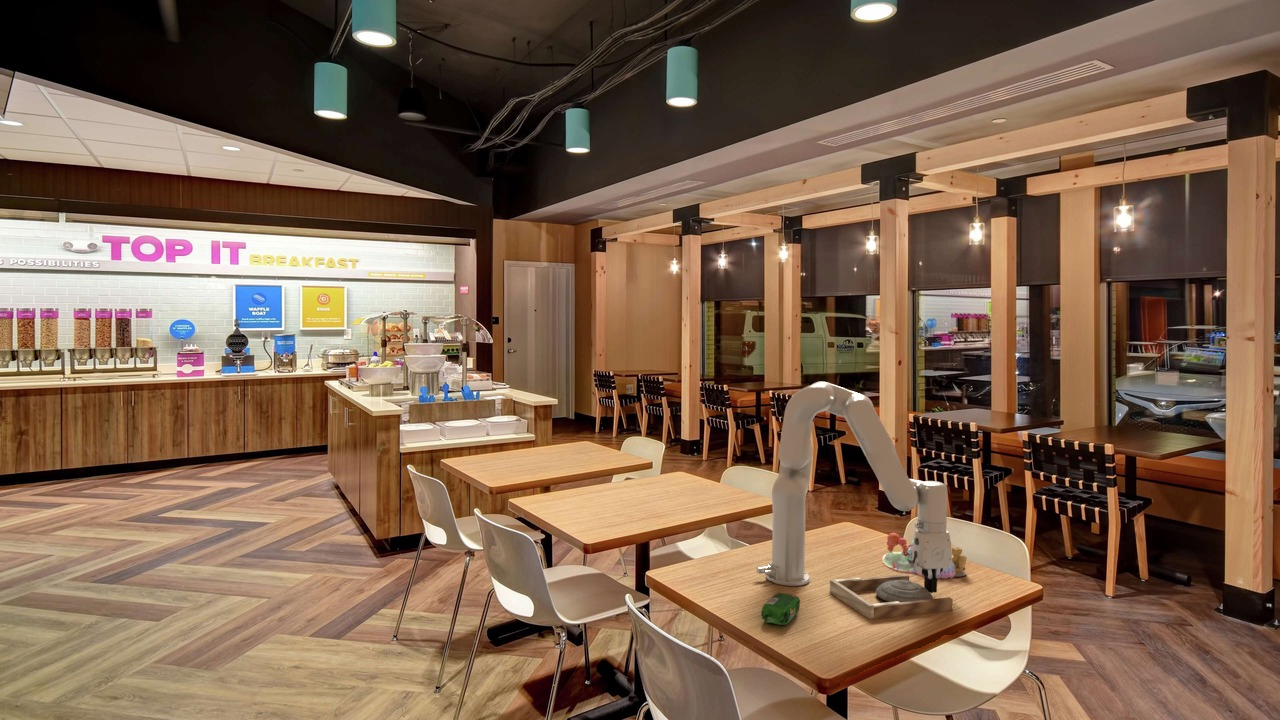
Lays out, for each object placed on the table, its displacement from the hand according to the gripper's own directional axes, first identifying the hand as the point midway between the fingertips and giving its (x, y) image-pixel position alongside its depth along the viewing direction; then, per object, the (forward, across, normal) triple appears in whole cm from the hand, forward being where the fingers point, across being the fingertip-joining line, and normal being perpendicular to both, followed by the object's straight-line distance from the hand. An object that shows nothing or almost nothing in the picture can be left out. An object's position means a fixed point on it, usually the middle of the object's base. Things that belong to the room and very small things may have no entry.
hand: (930, 590), depth 195 cm
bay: (+2, -13, 0) cm, 13 cm away
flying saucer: (+2, -8, 0) cm, 9 cm away
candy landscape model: (+2, +15, +22) cm, 27 cm away
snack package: (+2, -48, -4) cm, 48 cm away
